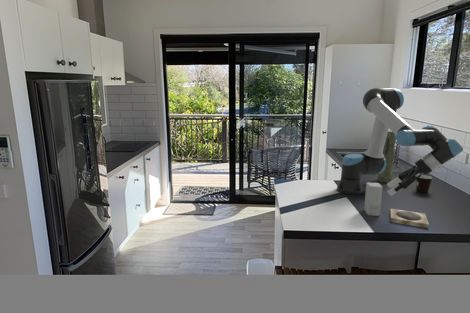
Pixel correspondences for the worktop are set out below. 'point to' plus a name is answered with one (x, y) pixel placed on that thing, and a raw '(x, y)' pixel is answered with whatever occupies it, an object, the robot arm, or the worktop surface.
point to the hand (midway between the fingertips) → (388, 189)
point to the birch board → (409, 218)
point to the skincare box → (373, 199)
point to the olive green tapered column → (388, 158)
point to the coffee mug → (423, 184)
